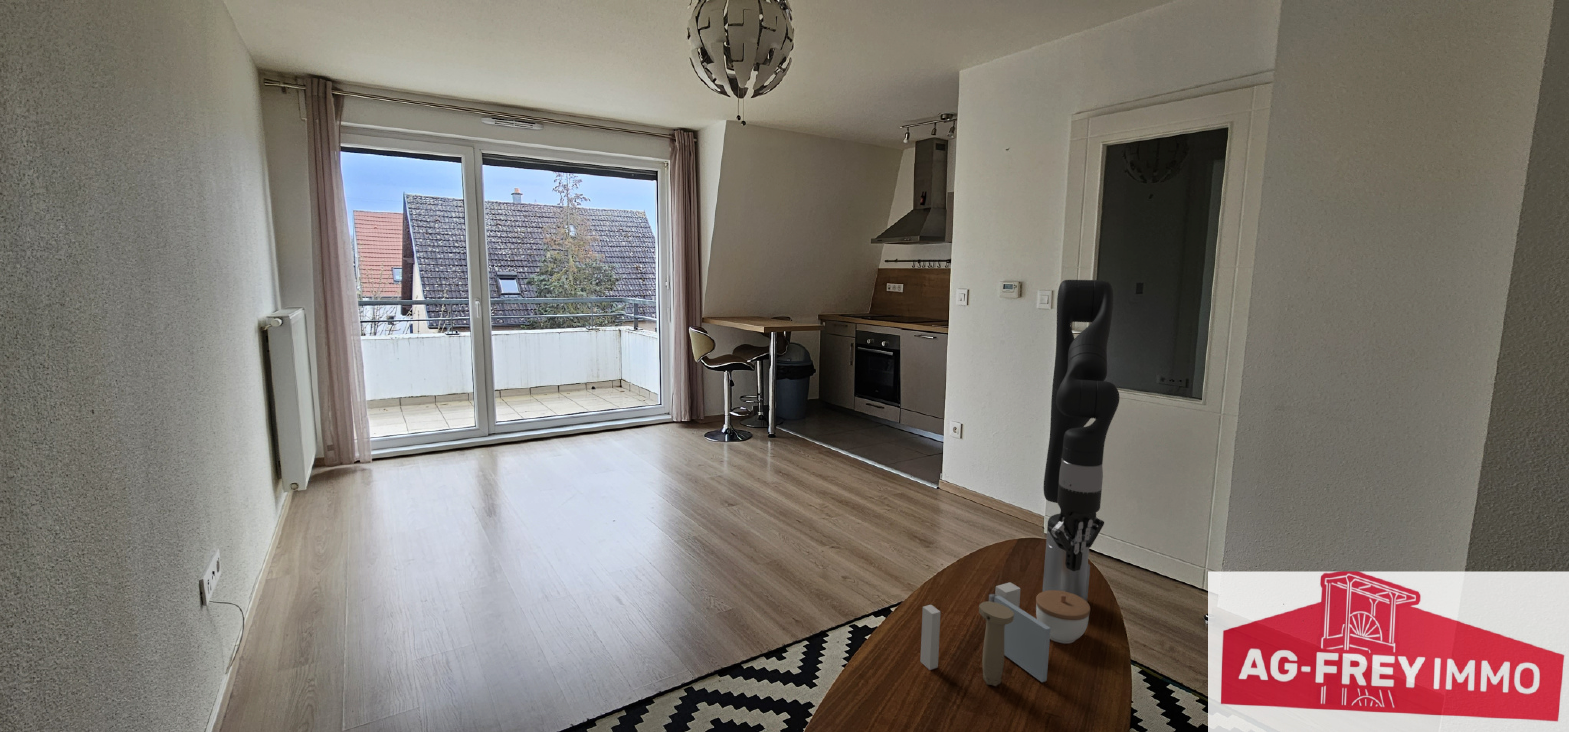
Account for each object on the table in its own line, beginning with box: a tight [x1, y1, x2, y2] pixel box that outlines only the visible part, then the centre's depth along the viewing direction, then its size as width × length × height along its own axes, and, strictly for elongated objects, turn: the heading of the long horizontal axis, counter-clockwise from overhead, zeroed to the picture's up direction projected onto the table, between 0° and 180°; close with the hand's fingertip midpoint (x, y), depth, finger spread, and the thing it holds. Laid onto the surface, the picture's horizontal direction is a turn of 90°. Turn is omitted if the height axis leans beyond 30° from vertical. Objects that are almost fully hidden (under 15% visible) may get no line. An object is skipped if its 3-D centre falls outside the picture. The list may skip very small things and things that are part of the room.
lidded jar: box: [1035, 590, 1091, 645], centre depth 145 cm, size 11×11×9 cm
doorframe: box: [919, 581, 1021, 671], centre depth 139 cm, size 23×3×12 cm, turn 116°
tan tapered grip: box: [978, 600, 1014, 687], centre depth 129 cm, size 5×6×15 cm
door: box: [988, 593, 1051, 683], centre depth 135 cm, size 15×2×11 cm, turn 26°
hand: (1073, 568), depth 131 cm, fingers closed
